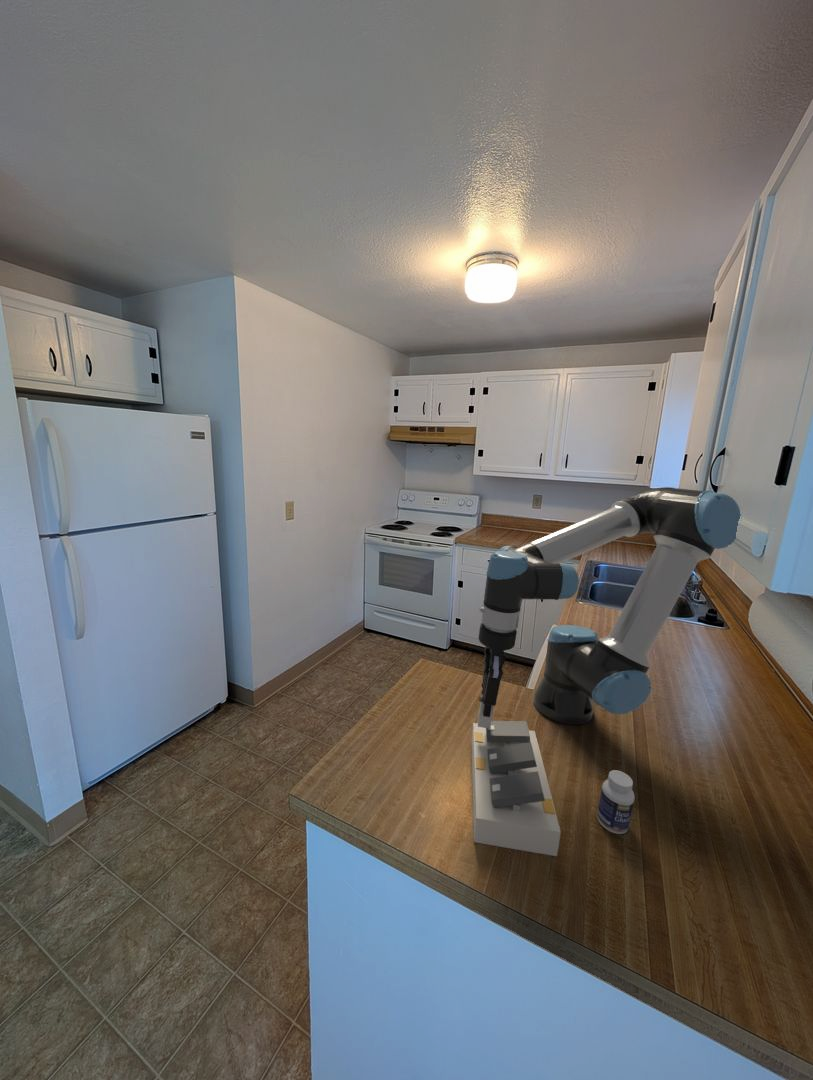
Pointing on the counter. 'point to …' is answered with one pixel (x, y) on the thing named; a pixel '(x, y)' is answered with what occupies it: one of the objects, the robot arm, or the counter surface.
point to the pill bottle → (616, 802)
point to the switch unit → (515, 823)
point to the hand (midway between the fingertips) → (483, 725)
